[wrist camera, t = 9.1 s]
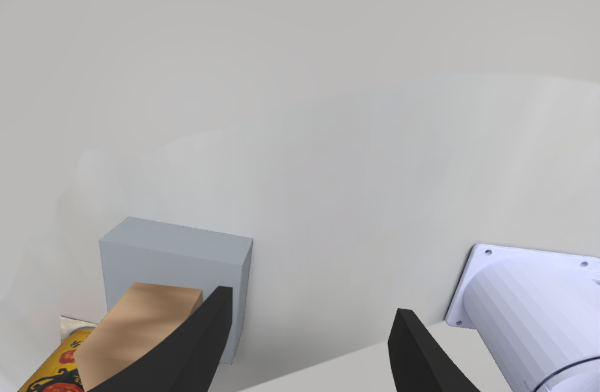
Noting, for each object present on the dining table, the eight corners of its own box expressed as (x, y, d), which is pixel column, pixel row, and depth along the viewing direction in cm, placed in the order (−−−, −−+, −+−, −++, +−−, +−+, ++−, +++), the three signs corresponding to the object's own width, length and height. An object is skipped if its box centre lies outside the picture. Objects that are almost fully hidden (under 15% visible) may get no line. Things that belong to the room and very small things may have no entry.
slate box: (254, 235, 25) (242, 265, 21) (243, 326, 29) (231, 364, 25) (132, 214, 25) (99, 240, 21) (138, 307, 29) (111, 343, 25)
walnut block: (202, 289, 22) (162, 364, 16) (205, 339, 24) (170, 421, 18) (134, 282, 22) (72, 353, 17) (143, 332, 24) (90, 411, 19)
